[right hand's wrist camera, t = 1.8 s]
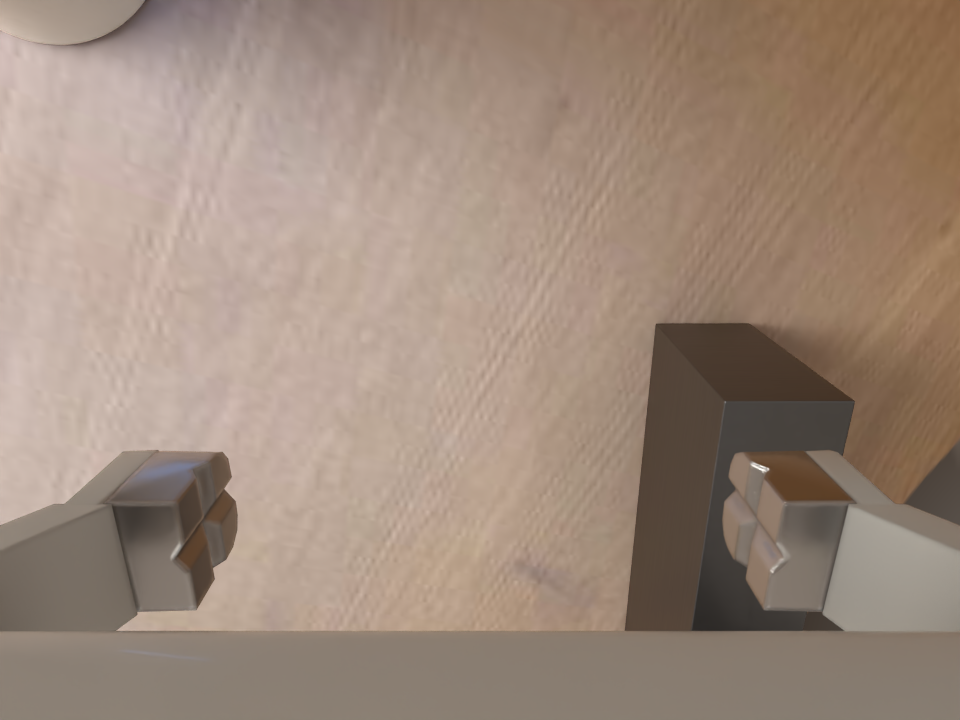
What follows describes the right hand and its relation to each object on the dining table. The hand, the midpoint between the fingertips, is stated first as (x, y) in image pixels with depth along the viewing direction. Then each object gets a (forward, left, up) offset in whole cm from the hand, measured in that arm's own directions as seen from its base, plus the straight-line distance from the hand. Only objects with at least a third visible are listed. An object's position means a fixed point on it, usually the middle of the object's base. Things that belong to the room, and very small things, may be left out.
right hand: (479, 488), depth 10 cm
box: (+20, +15, -31) cm, 39 cm away
